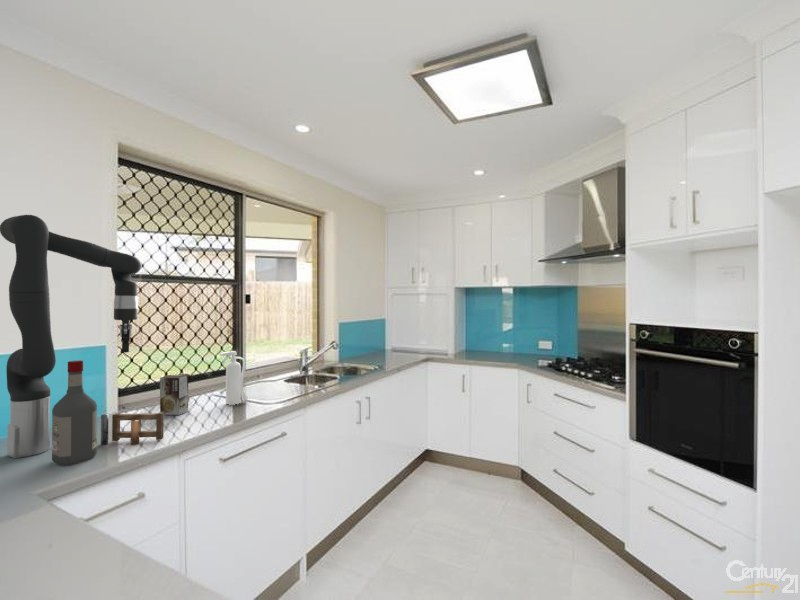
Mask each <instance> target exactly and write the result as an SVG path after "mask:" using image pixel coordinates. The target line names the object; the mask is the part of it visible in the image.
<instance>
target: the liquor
mask: <svg viewBox="0 0 800 600" xmlns="http://www.w3.org/2000/svg"><path fill="white" fill-rule="evenodd" d="M83 371H84V360H71V361H67V373H68V374H67V376H68V377H67V378H68V379H67V390H66V393H65V395H63V397H61V399H59V400H58V401H57V402H56V404H54V405H53V407H52V409H51V413H52V414H51V418H52V419H51V421H52V422H51V460H52V462H53V463H54V464H56V465H58V466H60V467H65V466H67V467H68V466H73V465H76V464H80V463H83V462H86V461H90V460H92V459H93V458H94V457H95V456H96V454H97V451H98V450H97V446H98V445H97V441H98V440H97V439H98V438H97V433H98V431H97V427H98V422H97V421H98V417H97V416H98V405H97V404H98V403H97V402H96V400H95V399H93V397H90V396H89V395H88V394H87V393H86V392H85V390H84V386H83V384H84V383H83V382H84V381H83Z"/></svg>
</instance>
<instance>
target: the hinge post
mask: <svg viewBox="0 0 800 600" xmlns="http://www.w3.org/2000/svg"><path fill="white" fill-rule="evenodd" d="M108 444H109V413H102V414H101V415H100V446H106V445H108Z"/></svg>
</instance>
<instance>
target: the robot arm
mask: <svg viewBox="0 0 800 600" xmlns="http://www.w3.org/2000/svg"><path fill="white" fill-rule="evenodd" d="M0 235H1V236H2V237H3V239H4V240H6V241H7V242H9V243H10V244H13V245H14V247H15V265H14V266H13V267H14V269H13V271H12V273H11V277H10V281H9V286H8V298H9V299H8V302H9V308H10V312H11V314H12V316H13V319H14V321H15V323H16V325H17V327H18V328H19V331H20V334H21V342H22V343H21V344H22V348H19V349H16V350H15V351H14V352H12V353H11V354H10V355H9V357H8V359H7V362H6V370H5V372H6V388H7V392H8V394H9V396H10V398H9V399H10V404H9V405H10V407H9V408H10V415H9V416H10V417H9V423H8V424H7V443H6V444H7V445H6V446H7V455H8V456H9V457H11V458H12V459H17V458H23V457H24V458H25V457H30V456H35V455H38V454H43V453H45V452H46V451H49V450H50V448H51V447H50V446H51V445H50V444H51V388H50V386H49V385H48V384H46V381H45V379H44V378H45V377H46V376H48V375H49V374H51V372H52V371H53V370H54V368H55V366H56V361H57V360H56V352H55V349H54V342H53V337H52V329H51V323H52V322H51V309H50V306H51V303H50V302H51V301H50V299H51V297H50V287H49V285H50V284H49V273H48V272H49V271H48V259H47V258H48V251H50V252H52V253H57V254H60V255H63V256H65V257H70V258H73V259H76V260H79V261H81V262H84V263H88V264H92V265H95V266H98V267H102V268H111V269H110V271H111V274H112V275H111V276H112V279H113V282H114V300H113V320H115V321H121V324H119V327H118V329H119V337H120V338H121V339H120V342H121V353H123V354H124V353H126V354H127V353H129V352H130V341H131V336H132V330H133V324H131V323H130V321H135V320H138V318H139V317H138V311H139V309H138V305H139V304H138V285H137V282H136V281H133V280H132V275H133V274H137V273H138V272H140V271H141V269H142V263H141V261H140V259H139V258H137V257H135V256H133V255H131V254H128V253H124V252H119V251H116V250H111V249H109V248H107V247H103V246H100V245H98V244H96V243H92V242H89V241H86V240H82V239H81V240H80V239H77V238H71V237H69V236H68V237H67V236H65V235H60V234H57V233H55V232H51V231H49V227H48V226H47V223H46V222H45V221H44V220H43V219H41V218H40V217H38V216H37V215H33V214H21V215H14V216H10V217H9V218H6V219H4V220H3V221H2V222H1V223H0Z"/></svg>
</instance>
